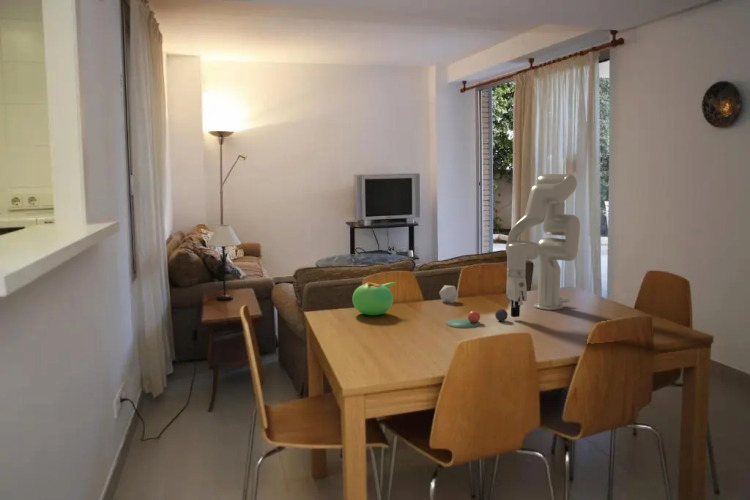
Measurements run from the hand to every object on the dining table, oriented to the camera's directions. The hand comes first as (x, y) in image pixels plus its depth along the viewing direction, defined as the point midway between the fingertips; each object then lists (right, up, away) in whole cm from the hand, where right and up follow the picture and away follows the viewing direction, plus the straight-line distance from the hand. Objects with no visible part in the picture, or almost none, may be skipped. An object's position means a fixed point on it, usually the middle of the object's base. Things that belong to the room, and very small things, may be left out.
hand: (515, 316), depth 237 cm
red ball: (-18, 0, -4) cm, 18 cm away
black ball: (-6, +1, -1) cm, 6 cm away
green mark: (-22, -2, -5) cm, 23 cm away
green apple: (-59, -1, +12) cm, 60 cm away
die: (-23, +3, +35) cm, 42 cm away
